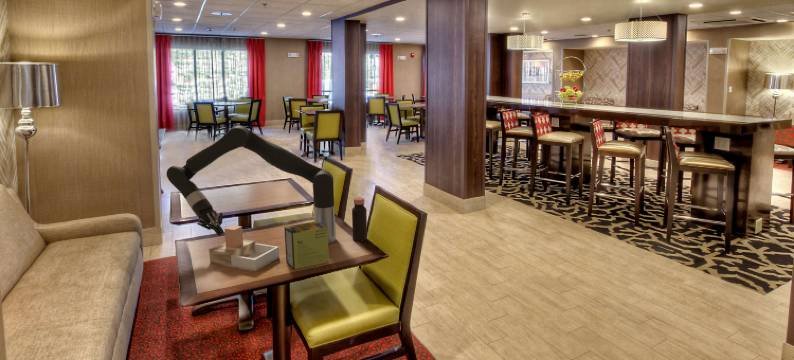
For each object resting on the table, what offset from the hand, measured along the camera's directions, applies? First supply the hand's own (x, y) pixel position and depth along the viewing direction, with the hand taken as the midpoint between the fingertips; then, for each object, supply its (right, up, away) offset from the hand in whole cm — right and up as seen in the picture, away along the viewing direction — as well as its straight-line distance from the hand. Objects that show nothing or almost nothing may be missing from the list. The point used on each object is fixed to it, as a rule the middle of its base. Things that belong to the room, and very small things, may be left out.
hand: (221, 234), depth 216 cm
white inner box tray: (+16, -11, -5) cm, 20 cm away
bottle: (+58, -5, +22) cm, 62 cm away
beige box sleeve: (+5, -10, -1) cm, 12 cm away
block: (+6, -4, -2) cm, 8 cm away
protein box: (+38, -11, -4) cm, 39 cm away
